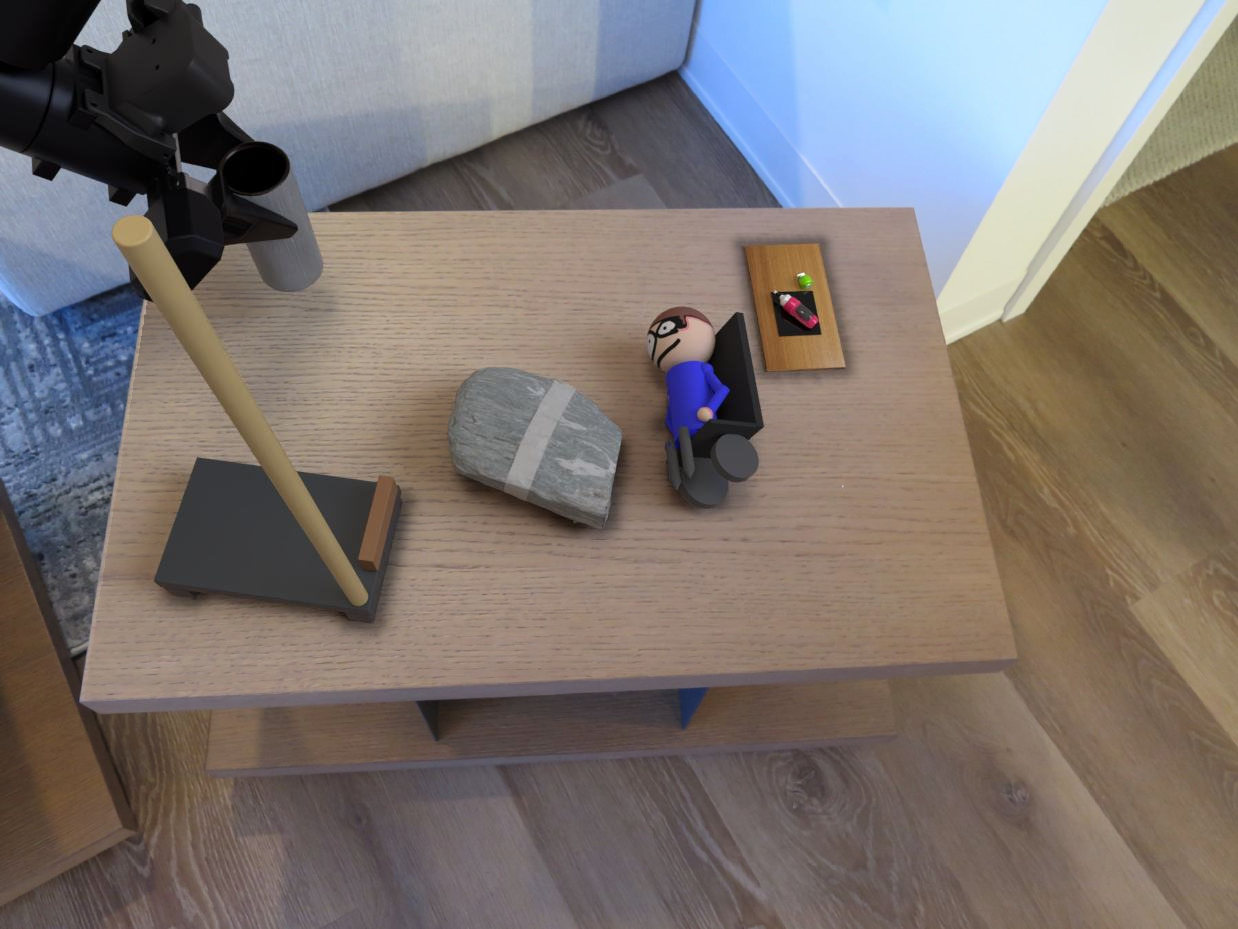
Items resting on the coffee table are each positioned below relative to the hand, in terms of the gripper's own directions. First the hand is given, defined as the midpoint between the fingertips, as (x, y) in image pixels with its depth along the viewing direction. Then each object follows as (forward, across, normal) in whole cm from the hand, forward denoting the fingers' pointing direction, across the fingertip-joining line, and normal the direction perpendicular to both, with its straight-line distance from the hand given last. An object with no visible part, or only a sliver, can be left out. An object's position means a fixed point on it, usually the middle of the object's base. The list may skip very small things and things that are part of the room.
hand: (289, 203), depth 63 cm
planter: (+4, 0, +6) cm, 7 cm away
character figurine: (+26, -17, -9) cm, 32 cm away
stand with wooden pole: (+5, -19, +12) cm, 23 cm away
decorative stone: (+18, -17, 0) cm, 25 cm away
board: (+34, -8, -17) cm, 39 cm away
